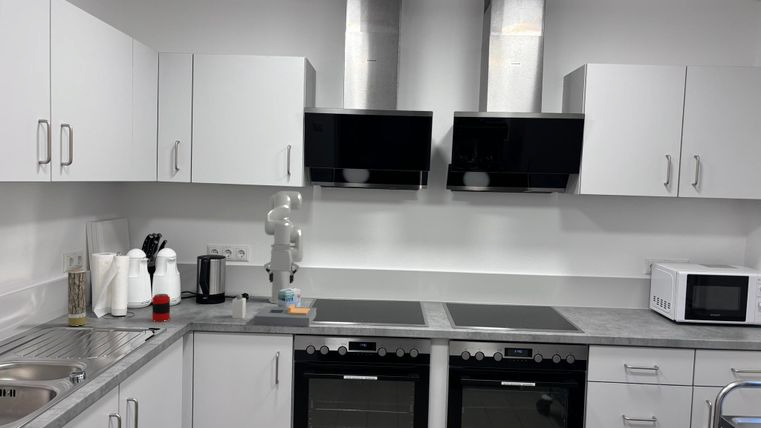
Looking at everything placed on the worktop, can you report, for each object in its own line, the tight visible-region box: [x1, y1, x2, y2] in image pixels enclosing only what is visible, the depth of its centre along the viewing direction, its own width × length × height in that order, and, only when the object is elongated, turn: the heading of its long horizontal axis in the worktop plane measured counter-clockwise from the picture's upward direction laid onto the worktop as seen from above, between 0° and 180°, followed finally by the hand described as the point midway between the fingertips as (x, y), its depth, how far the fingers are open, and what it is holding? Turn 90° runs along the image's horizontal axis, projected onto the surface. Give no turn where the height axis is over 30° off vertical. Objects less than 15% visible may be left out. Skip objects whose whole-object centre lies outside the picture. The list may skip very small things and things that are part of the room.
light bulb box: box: [277, 287, 302, 307], centre depth 272 cm, size 11×7×11 cm, turn 143°
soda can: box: [151, 293, 171, 321], centre depth 245 cm, size 8×8×12 cm
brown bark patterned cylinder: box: [67, 268, 87, 326], centre depth 233 cm, size 7×7×25 cm
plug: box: [231, 294, 247, 319], centre depth 255 cm, size 5×5×11 cm
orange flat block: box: [288, 304, 310, 315], centre depth 252 cm, size 9×9×3 cm
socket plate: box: [253, 305, 317, 327], centre depth 252 cm, size 20×26×4 cm
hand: (281, 282), depth 251 cm, fingers open, 9 cm apart
